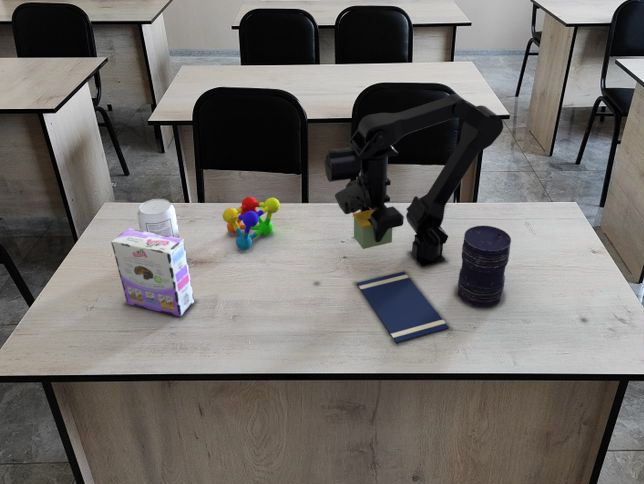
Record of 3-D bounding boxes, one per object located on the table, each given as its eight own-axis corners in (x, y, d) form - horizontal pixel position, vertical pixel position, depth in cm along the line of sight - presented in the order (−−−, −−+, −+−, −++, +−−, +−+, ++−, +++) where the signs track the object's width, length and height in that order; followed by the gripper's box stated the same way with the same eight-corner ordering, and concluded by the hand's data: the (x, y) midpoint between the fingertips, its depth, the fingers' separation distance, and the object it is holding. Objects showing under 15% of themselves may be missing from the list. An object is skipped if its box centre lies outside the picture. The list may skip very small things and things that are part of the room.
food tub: (382, 230, 142) (383, 207, 139) (393, 242, 137) (394, 219, 134) (352, 236, 140) (352, 213, 136) (362, 249, 135) (362, 225, 132)
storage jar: (471, 312, 128) (479, 255, 121) (448, 286, 136) (454, 230, 128) (511, 302, 132) (521, 245, 124) (486, 276, 139) (494, 221, 132)
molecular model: (221, 231, 156) (247, 180, 155) (261, 253, 156) (288, 202, 155) (204, 236, 141) (234, 179, 140) (249, 260, 141) (279, 204, 140)
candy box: (195, 301, 131) (185, 238, 123) (180, 318, 127) (168, 253, 118) (142, 288, 135) (128, 226, 127) (125, 304, 130) (109, 240, 122)
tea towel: (404, 272, 141) (404, 271, 141) (448, 328, 124) (449, 327, 124) (356, 284, 137) (356, 282, 137) (396, 343, 120) (396, 342, 120)
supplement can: (140, 266, 143) (128, 211, 135) (162, 248, 149) (152, 194, 141) (168, 273, 140) (158, 218, 132) (190, 255, 146) (180, 201, 139)
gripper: (324, 162, 135) (325, 222, 143) (355, 201, 120) (355, 265, 128) (369, 154, 138) (369, 213, 146) (406, 190, 123) (403, 253, 132)
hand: (372, 235), depth 138 cm, fingers closed on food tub, 5 cm apart
